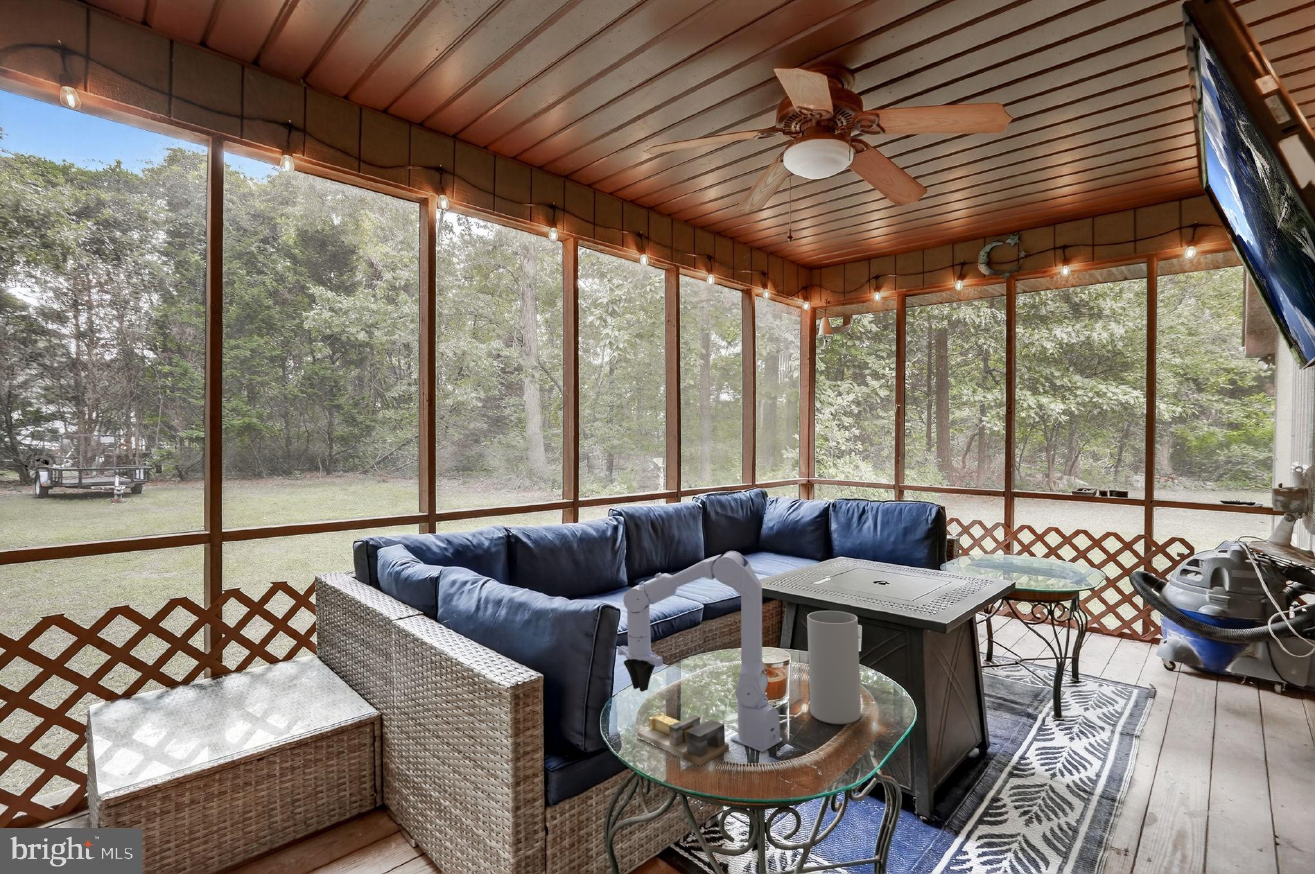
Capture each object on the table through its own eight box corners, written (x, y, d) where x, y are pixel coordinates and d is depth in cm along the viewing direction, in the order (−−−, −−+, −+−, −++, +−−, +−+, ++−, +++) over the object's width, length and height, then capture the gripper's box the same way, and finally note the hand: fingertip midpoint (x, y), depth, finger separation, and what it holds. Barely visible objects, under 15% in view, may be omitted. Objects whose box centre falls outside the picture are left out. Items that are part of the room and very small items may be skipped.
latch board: (729, 750, 147) (728, 723, 147) (699, 766, 140) (698, 738, 140) (667, 725, 161) (666, 700, 161) (637, 738, 154) (637, 713, 154)
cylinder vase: (830, 729, 156) (826, 626, 156) (800, 710, 168) (797, 614, 168) (871, 719, 161) (868, 619, 161) (839, 702, 172) (836, 608, 173)
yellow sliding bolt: (697, 737, 150) (697, 726, 150) (684, 743, 147) (684, 732, 147) (661, 722, 158) (661, 712, 159) (648, 728, 155) (648, 717, 155)
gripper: (608, 632, 163) (609, 686, 163) (647, 644, 153) (649, 701, 153) (628, 626, 168) (630, 678, 168) (668, 637, 158) (669, 692, 158)
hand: (640, 689), depth 161 cm, fingers closed
